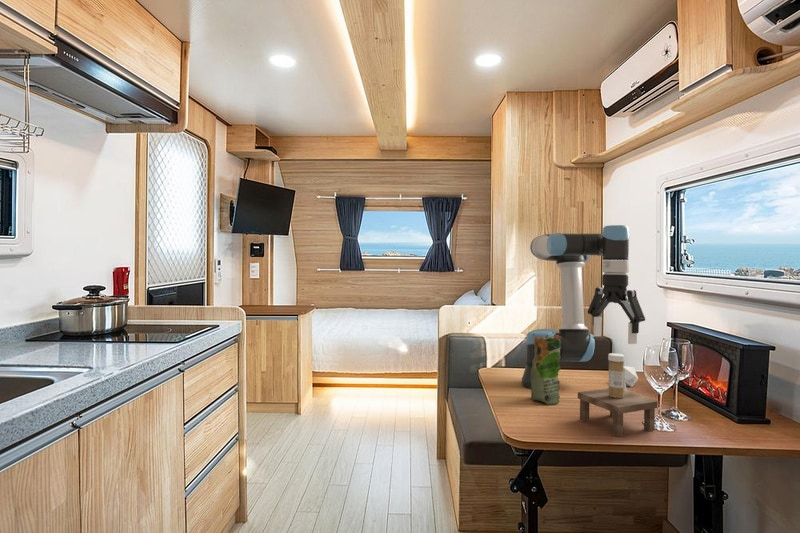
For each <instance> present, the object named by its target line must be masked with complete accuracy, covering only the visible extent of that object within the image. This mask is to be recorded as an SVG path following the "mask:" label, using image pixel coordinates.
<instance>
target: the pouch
mask: <svg viewBox="0 0 800 533" xmlns="http://www.w3.org/2000/svg"><path fill="white" fill-rule="evenodd" d="M561 337H562V336H559V335H553V336H550V337H549V336H548V335H546V337H544V338H543V337H540V338H539V337H536V336H535V337H534V338H533V339H534V346H535V356H534V359H533V360H532V361H533V363H532V368H531V378H530V380H531V388H530V390H531V391H530V393H531V396H530V397H531V398H530V399H531V401H533V400H534V401H538V402H539V401H540V402H542V403H544V404H546V405H547V406H555V405H557V404H559V403H560V397H561V396H560V393H559V391H560V383H561V382H560V379H559V372H560V370H561V366H560V362H561V361H560V358H561V357H560V348H561V343H562V342H561Z"/></svg>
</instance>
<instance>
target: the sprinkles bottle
mask: <svg viewBox="0 0 800 533" xmlns="http://www.w3.org/2000/svg"><path fill="white" fill-rule="evenodd" d="M607 356H608V357H607V359H608V388H609V394H608V395H609V396H610V397H613V398H624V366H625V365H624V363H625V355H624V354H622V353H616V352H615V353H612V352H610V353H608V355H607Z"/></svg>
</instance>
